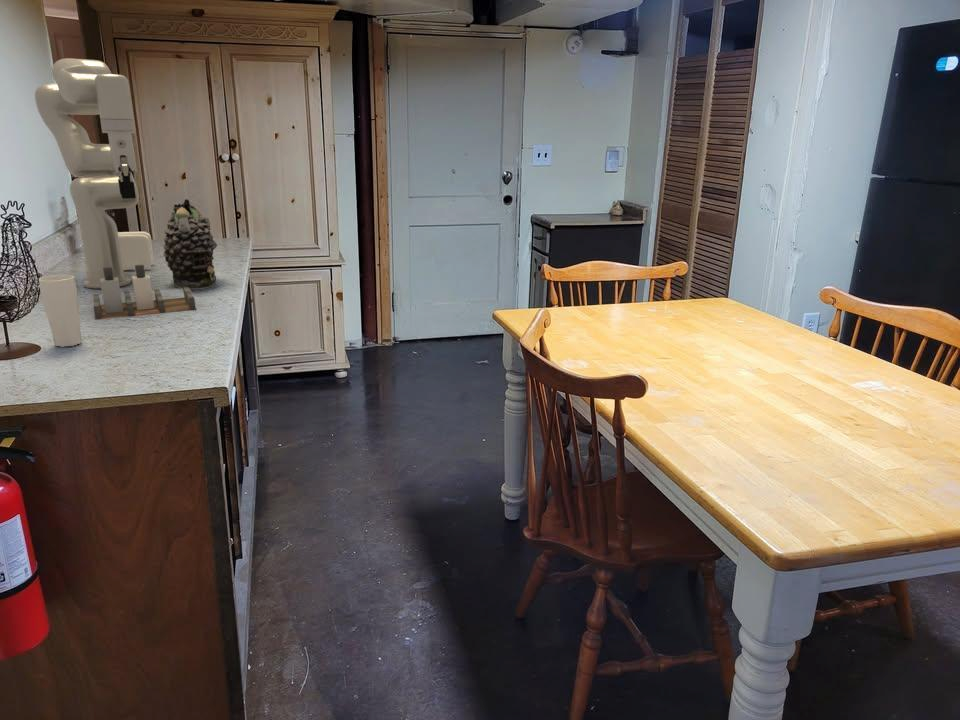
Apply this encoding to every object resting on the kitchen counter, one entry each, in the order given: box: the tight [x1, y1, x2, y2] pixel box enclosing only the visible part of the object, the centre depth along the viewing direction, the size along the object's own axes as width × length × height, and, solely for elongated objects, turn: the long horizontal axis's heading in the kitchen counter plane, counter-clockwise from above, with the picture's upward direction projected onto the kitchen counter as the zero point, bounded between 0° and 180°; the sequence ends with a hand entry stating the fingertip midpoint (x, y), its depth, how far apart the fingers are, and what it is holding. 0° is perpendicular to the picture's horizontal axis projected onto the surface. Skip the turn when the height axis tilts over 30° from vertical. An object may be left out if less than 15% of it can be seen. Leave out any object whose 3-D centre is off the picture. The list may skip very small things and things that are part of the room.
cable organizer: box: [117, 231, 155, 272], centre depth 231 cm, size 15×11×12 cm
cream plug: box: [131, 265, 154, 310], centre depth 179 cm, size 4×4×11 cm
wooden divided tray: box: [92, 287, 197, 320], centre depth 180 cm, size 15×23×4 cm, turn 118°
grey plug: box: [100, 267, 123, 313], centre depth 176 cm, size 4×4×11 cm
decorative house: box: [163, 199, 218, 291], centre depth 208 cm, size 21×15×25 cm
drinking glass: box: [38, 274, 83, 348], centre depth 152 cm, size 7×7×15 cm
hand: (128, 196), depth 181 cm, fingers open, 9 cm apart
